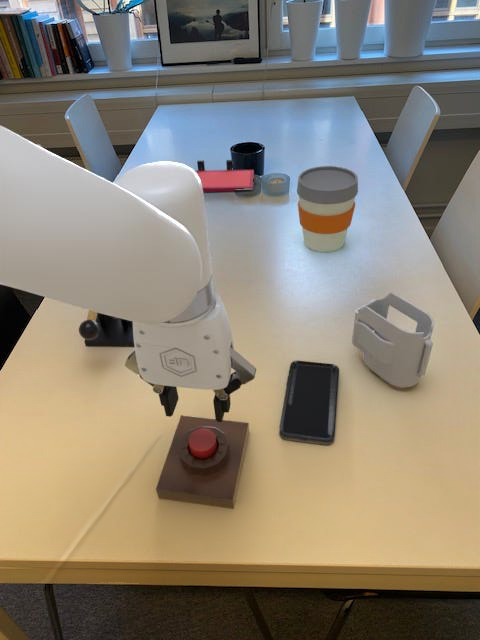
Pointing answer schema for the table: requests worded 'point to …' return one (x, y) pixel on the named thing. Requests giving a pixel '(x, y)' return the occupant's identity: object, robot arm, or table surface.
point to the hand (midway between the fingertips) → (196, 409)
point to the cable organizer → (393, 341)
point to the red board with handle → (224, 178)
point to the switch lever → (89, 327)
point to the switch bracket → (113, 332)
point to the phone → (310, 403)
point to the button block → (204, 464)
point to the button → (202, 443)
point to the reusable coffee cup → (326, 206)
